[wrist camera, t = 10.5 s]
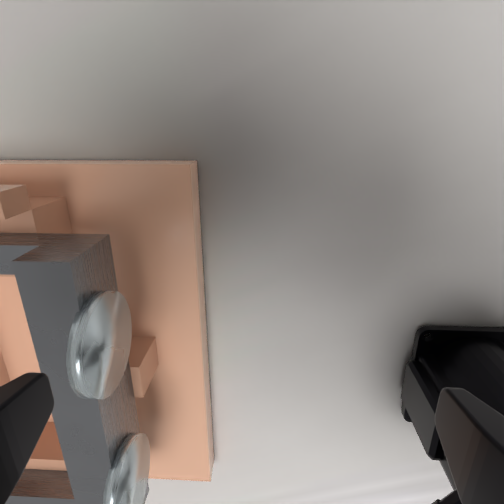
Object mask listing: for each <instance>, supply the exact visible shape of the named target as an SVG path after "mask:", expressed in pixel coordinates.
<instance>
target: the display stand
mask: <svg viewBox="0 0 504 504" xmlns="http://www.w3.org/2000/svg"><path fill="white" fill-rule="evenodd" d="M0 233H63V234H109V235H110V242H111V248H112V255H113V261H114V268H115V274H116V281H117V287H118V292H120V293H121V294H122V295H123V296H124V297H125V299H126V301H127V303H128V306H129V309H130V314H131V321H132V339H131V348H130V354H129V364H130V371H131V377H132V384H133V390H134V397H135V403H136V410H137V416H138V422H139V429H140V433H144V434H146V435H147V437H148V440H149V444H150V468H149V476H148V478H153V479H172V480H191V481H211V476H212V470H213V464H214V450H213V432H212V415H211V397H210V379H209V362H208V344H207V327H206V309H205V291H204V274H203V256H202V239H201V221H200V203H199V186H198V168H197V161H171V160H0ZM29 372H35V373H41V372H40V368H39V364H38V360H37V357H36V353H35V349H34V345H33V342H32V338H31V334H30V330H29V326H28V323H27V319H26V315H25V311H24V308H23V304H22V300H21V296H20V293H19V289H18V285H17V281H16V278H15V275H4V274H0V386H2V385H4V384H6V383H8V382H10V381H12V380H14V379H16V378H17V377H19V376H21V375H23V374H25V373H29ZM25 469H41V470H60V471H67V469H66V465H65V462H64V458H63V454H62V450H61V447H60V443H59V439H58V435H57V432H56V428H55V424H54V420H53V417H52V413H51V415H50V418H49V420H48V422H47V424H46V426H45V428H44V430H43V432H42V434H41V436H40V438H39V440H38V443H37V445H36V447H35V449H34V451H33V453H32V455H31V457H30V459H29V461H28V463H27V465H26V467H25Z"/></svg>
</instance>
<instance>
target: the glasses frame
mask: <svg viewBox="0 0 504 504" xmlns="http://www.w3.org/2000/svg"><path fill="white" fill-rule="evenodd" d="M0 274H4V275H15V278H16V281H17V285H18V289H19V293H20V296H21V300H22V304H23V308H24V311H25V315H26V319H27V323H28V326H29V330H30V334H31V338H32V342H33V345H34V349H35V353H36V357H37V360H38V364H39V368H40V372H41V373H45V374H46V375H47V376H48V378H49V381H50V385H51V389H52V393H53V397H54V408H53V411H52V417H53V420H54V424H55V428H56V432H57V435H58V439H59V443H60V447H61V450H62V454H63V458H64V462H65V465H66V469H67V471H60V470H41V469H24V471H23V473H22V475H21V477H20V479H19V481H18V482H17V484H16V486H15V488H14V490H13V491H12V493H11V495H10V496H9V498H8V500H7V501H6V503H5V504H145V501H146V498H147V495H148V492H149V487H148V476H149V468H150V444H149V440H148V437H147V435H146V434H144V433H140V429H139V422H138V416H137V410H136V403H135V397H134V390H133V384H132V377H131V371H130V364H129V354H130V348H131V339H132V321H131V314H130V309H129V306H128V303H127V301H126V299H125V297H124V296H123V295H122V294H121V293H120V292H118V287H117V281H116V274H115V268H114V261H113V255H112V248H111V242H110V235H109V234H63V233H0Z"/></svg>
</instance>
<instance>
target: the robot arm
mask: <svg viewBox="0 0 504 504" xmlns="http://www.w3.org/2000/svg"><path fill="white" fill-rule="evenodd" d="M426 334H430V335H429V336H428V337H424V336H425V335H426ZM401 399H402V401H403V405H402V414H403V417H404V419H405V420H406V421H408V422H412V423H413V425H414V427H415V429H416V432H417V434H418V436H419V438H420V440H421V443H422V445H423V447H424V449H425V451H426V454H427V455H428V456H429V457H430V458H431V459H432V460H439V461H440V463H441V465H442V467H443V469H444V471H445V473H446V475H447V477H448V479H449V482H450V484H451V486H452V488H453V490H454V491H452V492H451V493H450V494H448V495H447V496H446V497H444V498H443V499H442V500H439V499H437V500H436V501H435V502H433V503H432V504H504V328H495V327H459V326H423V327H420V328H419V329H418V330H417V332H416V337H415V342H414V347H413V353H412V358H411V360H410V361H409V362H408V363H407V366H406V371H405V377H404V382H403V387H402V393H401ZM53 408H54V397H53V393H52V389H51V385H50V381H49V378H48V376H47V375H46V374H45V373H35V372H29V373H25V374H23V375H21V376H19V377H17V378H16V379H14V380H12V381H10V382H8V383H6V384H4V385H2V386H0V504H5V503H6V501H7V500H8V498H9V496H10V495H11V493H12V491H13V490H14V488H15V486H16V484H17V482H18V481H19V479H20V477H21V475H22V473H23V471H24V469H25V467H26V465H27V463H28V461H29V459H30V457H31V455H32V453H33V451H34V449H35V447H36V445H37V443H38V440H39V438H40V436H41V434H42V432H43V430H44V428H45V426H46V424H47V422H48V420H49V418H50V415H51V413H52V411H53Z"/></svg>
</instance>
